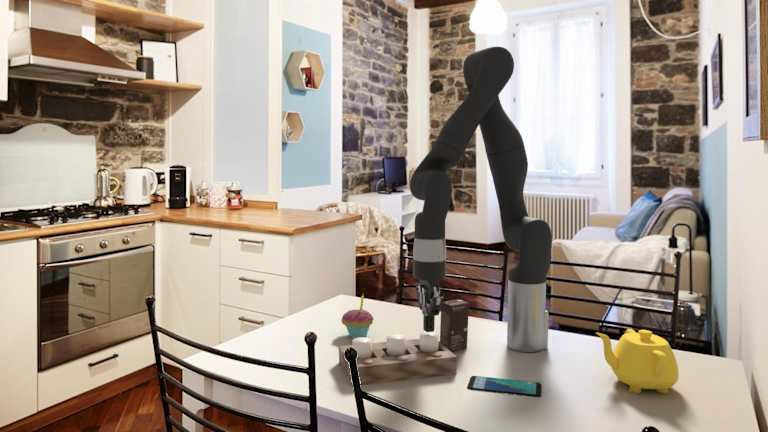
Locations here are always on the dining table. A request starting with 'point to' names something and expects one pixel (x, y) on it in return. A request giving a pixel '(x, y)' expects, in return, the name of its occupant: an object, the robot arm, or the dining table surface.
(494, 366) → the dining table surface
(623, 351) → the teapot
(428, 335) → the button
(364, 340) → the button
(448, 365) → the board
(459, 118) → the robot arm
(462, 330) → the box
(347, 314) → the cupcake
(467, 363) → the dining table surface
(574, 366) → the dining table surface
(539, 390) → the smartphone
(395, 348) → the button
